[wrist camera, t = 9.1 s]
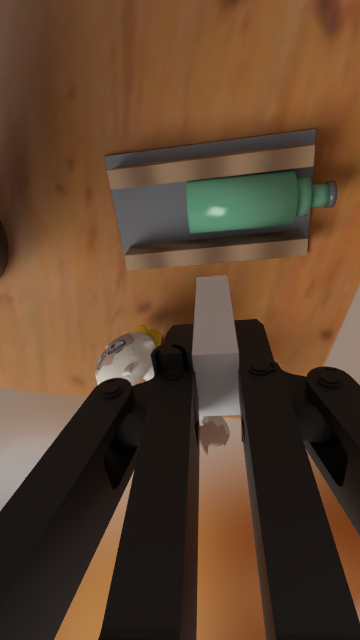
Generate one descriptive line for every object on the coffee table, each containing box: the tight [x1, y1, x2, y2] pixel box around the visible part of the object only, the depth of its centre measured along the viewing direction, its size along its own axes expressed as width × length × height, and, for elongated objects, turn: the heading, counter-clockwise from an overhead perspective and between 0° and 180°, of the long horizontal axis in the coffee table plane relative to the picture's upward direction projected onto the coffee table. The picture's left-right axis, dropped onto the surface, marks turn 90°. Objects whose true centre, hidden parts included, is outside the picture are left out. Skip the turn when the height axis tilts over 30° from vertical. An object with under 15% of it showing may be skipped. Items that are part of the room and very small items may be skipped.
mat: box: [104, 129, 316, 255], centre depth 37 cm, size 22×13×1 cm, turn 97°
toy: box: [96, 325, 230, 455], centre depth 41 cm, size 9×19×15 cm, turn 50°
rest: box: [107, 144, 315, 271], centre depth 36 cm, size 20×11×4 cm, turn 97°
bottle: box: [186, 169, 337, 234], centre depth 34 cm, size 5×5×15 cm
